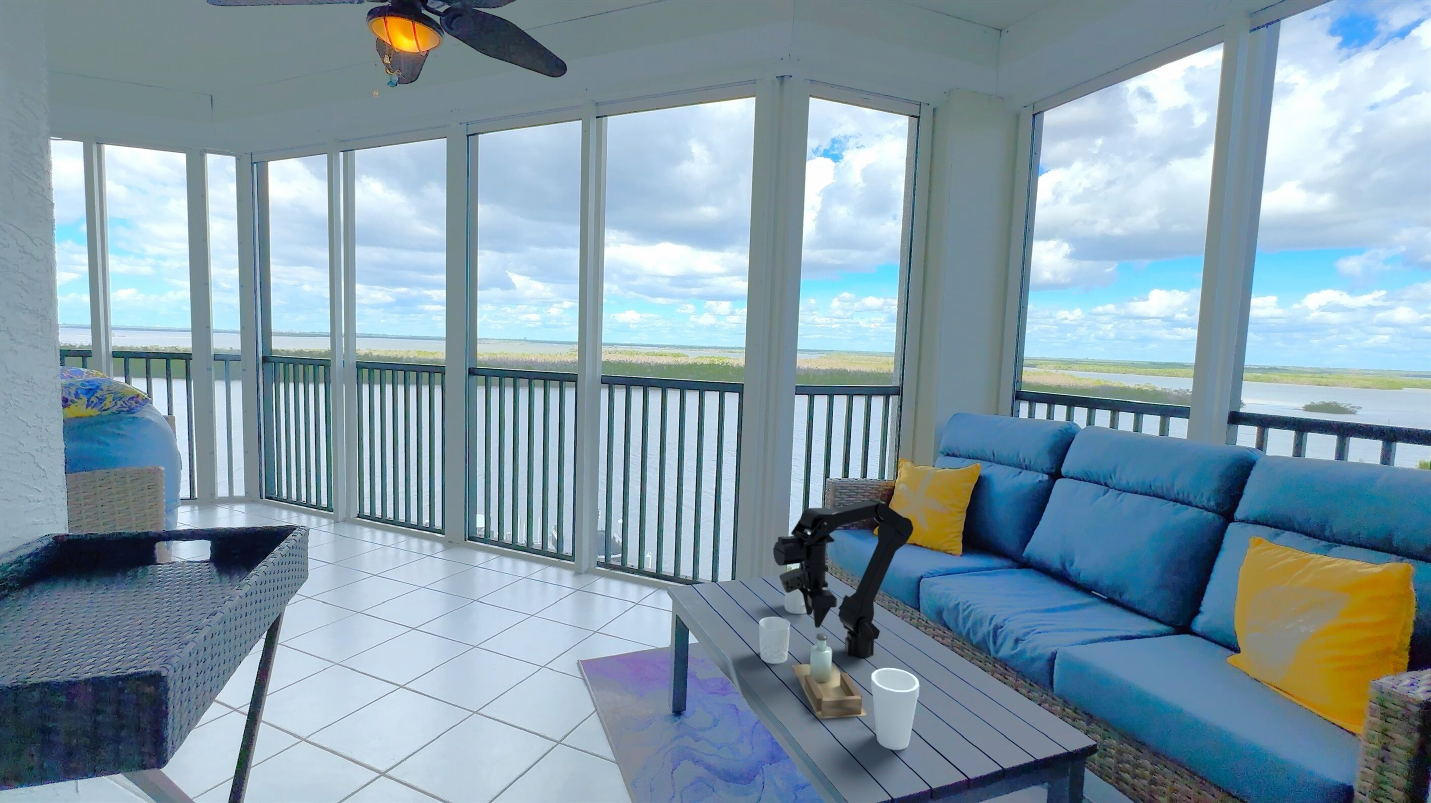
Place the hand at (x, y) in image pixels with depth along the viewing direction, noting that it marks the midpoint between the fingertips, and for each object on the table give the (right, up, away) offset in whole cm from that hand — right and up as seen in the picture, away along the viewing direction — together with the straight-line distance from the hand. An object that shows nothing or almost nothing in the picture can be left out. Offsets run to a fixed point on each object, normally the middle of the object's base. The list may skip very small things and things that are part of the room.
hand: (813, 620), depth 158 cm
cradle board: (+2, -13, -11) cm, 17 cm away
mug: (+2, -9, +34) cm, 36 cm away
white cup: (-10, -12, +4) cm, 16 cm away
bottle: (+1, -12, -6) cm, 13 cm away
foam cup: (+12, -15, -29) cm, 34 cm away
